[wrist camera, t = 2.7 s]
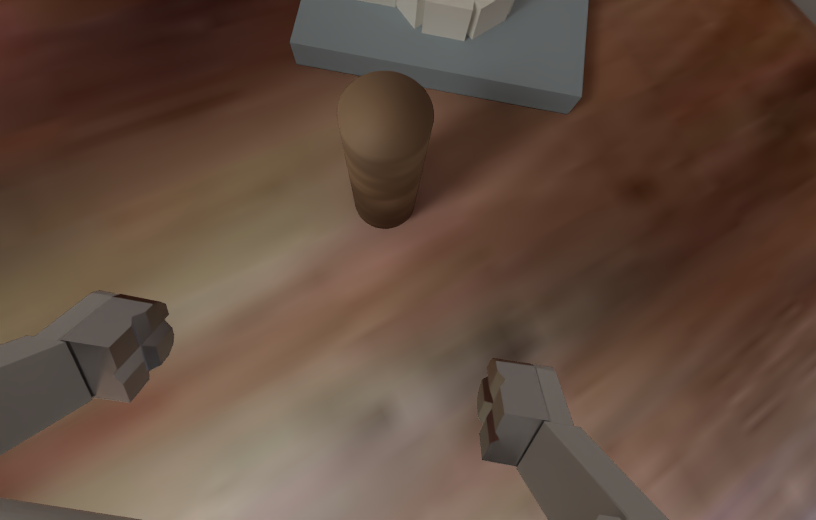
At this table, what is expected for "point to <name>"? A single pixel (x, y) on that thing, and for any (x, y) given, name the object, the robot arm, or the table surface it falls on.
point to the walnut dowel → (385, 143)
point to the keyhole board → (454, 45)
